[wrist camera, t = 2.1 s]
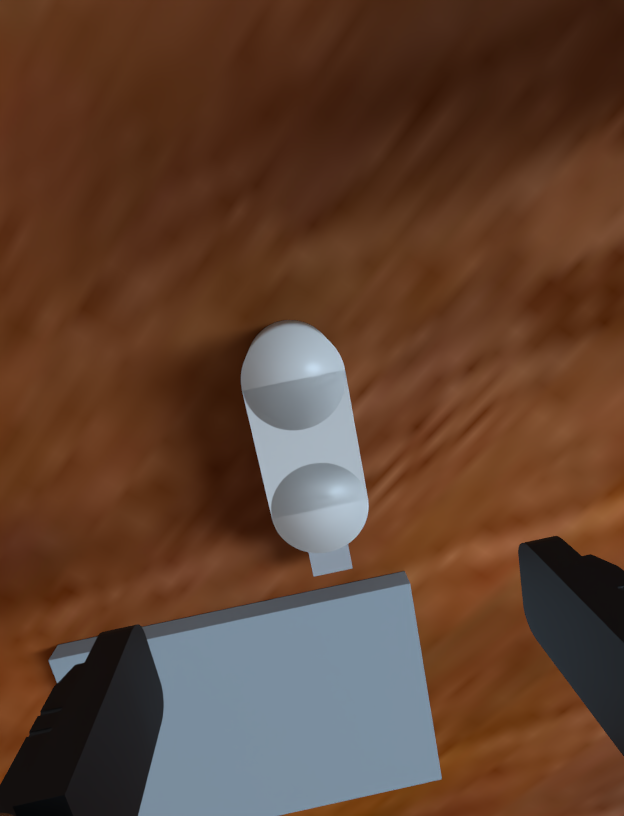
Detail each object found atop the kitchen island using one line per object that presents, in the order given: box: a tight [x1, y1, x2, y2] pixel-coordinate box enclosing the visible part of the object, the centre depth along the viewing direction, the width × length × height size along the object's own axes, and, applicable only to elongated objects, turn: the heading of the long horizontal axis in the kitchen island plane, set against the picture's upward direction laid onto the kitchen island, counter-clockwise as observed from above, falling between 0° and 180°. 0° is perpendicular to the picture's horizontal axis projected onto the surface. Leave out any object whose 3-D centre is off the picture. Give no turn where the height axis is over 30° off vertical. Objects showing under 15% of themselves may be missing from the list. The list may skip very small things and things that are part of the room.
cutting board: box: [48, 571, 442, 816], centre depth 29 cm, size 20×14×1 cm
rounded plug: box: [241, 320, 369, 576], centre depth 24 cm, size 4×13×4 cm, turn 11°
